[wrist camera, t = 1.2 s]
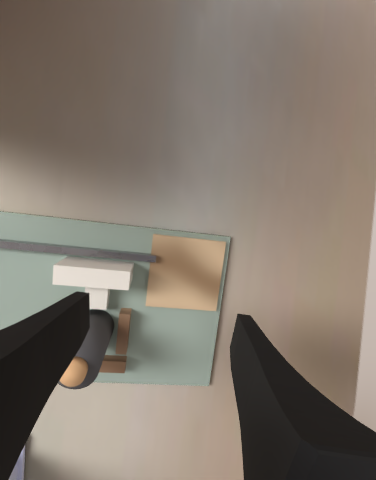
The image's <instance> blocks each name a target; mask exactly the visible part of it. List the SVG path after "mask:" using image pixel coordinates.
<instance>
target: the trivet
mask: <svg viewBox="0 0 376 480" xmlns="http://www.w3.org/2000/svg"><path fill="white" fill-rule="evenodd" d="M225 247H226V242H224V241H215V240H206V239H197V238H187V237H178V236H169V235H160V234H153V240H152V249H151V254H152V255H156V263H155V262H150V268H149V277H148V287H147V296H146V306H151V307H165V308H179V309H192V310H206V311H216V309H217V302H218V295H219V288H220V281H221V274H222V267H223V261H224V254H225Z"/></svg>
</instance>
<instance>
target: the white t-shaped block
mask: <svg viewBox="0 0 376 480" xmlns="http://www.w3.org/2000/svg"><path fill="white" fill-rule="evenodd" d="M133 268H134V262H126V261H115V260H104V259H94V258H83V257H72V256H67V257H66V258H64V259H62V260H61V261H59V262H58V263H56V264H54V265H53V282H52V284H53V285H65V286H78V287H85V292H86V293H89V300H90V309H100V310H106V309H107V307H108V305H109V295H110V289H116V290H129V288H130V285H131V282H132V279H133Z"/></svg>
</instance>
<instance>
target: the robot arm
mask: <svg viewBox="0 0 376 480" xmlns="http://www.w3.org/2000/svg"><path fill="white" fill-rule="evenodd" d="M89 328H90V300H89V293H86V292H79V291H77V292H74V293H72V294H71V295H69V296H67V297H65V298H63V299H61V300H60V301H58V302H56V303H54V304H52V305H51V306H49V307H47V308H45V309H43V310H41V311H39V312H37V313H35V314H33V315H31V316H29V317H27V318H25V319H23V320H21V321H19V322H17V323H15V324H13V325H11V326H8V327H6V328H4V329H1V330H0V480H24V464H25V443H26V441H27V439H28V437H29V435H30V433H31V431H32V429H33V427H34V425H35V423H36V421H37V419H38V417H39V415H40V413H41V411H42V410H43V408H44V406H45V404H46V402H47V400H48V398H49V396H50V395H51V393H52V391H53V390H54V388H55V387H56V385H57V383H58V382H59V380H60V379H61V377H62V376H63V374H64V373H65V371H66V369H67V368H68V366H69V365H70V363H71V362H72V360H73V358H74V357H75V355H76V354H77V352H78V351H79V349H80V347H81V345H82V343H83V341H84V339H85V337H86V335H87V333H88V331H89ZM230 360H231V372H232V378H233V384H234V390H235V396H236V402H237V407H238V413H239V420H240V428H241V441H242V454H243V470H244V480H376V432H374V431H373V430H371V429H370V428H368V427H367V426H365V425H363V424H362V423H360V422H359V421H357V420H356V419H354V418H353V417H352V416H350V415H349V414H347V413H346V412H345V411H343V410H342V409H341V408H339V407H338V406H337V405H335V404H334V403H333V402H331V401H330V400H329V399H328V398H326V397H325V396H324V395H323V394H321V393H320V392H319V391H318V390H317V389H315V388H314V387H313V386H312V385H311V384H310V383H309V382H307V381H306V380H305V379H304V378H303V377H302V376H301V375H300V374H299V373H298V372H297V371H296V370H295V369H294V368H293V367H292V366H291V365H290V364H289V363H288V362H287V361H286V360H285V358H284V357H283V356H282V355H281V354H280V353H279V352H278V351H277V349H276V348H275V347H274V346H273V345H272V343H271V342H270V341H269V340H268V338H267V337H266V336H265V334H264V333H263V332H262V330H261V329H260V328H259V326H258V325H257V324H256V322H255V321H254V320H253V318H252V317H251V316H250V315H243V314H237V319H236V323H235V328H234V332H233V337H232V341H231V346H230Z"/></svg>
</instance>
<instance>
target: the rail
mask: <svg viewBox="0 0 376 480" xmlns="http://www.w3.org/2000/svg"><path fill="white" fill-rule="evenodd" d="M0 248H5V249H16V250H27V251H37V252H48V253H59V254H69V255H80V256H91V257H101V258H112V259H123V260H133V261H144V262H155V263H156V255H152V254H151V253H141V252H130V251H120V250H110V249H100V248H90V247H79V246H69V245H59V244H49V243H39V242H28V241H18V240H8V239H0Z"/></svg>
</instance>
